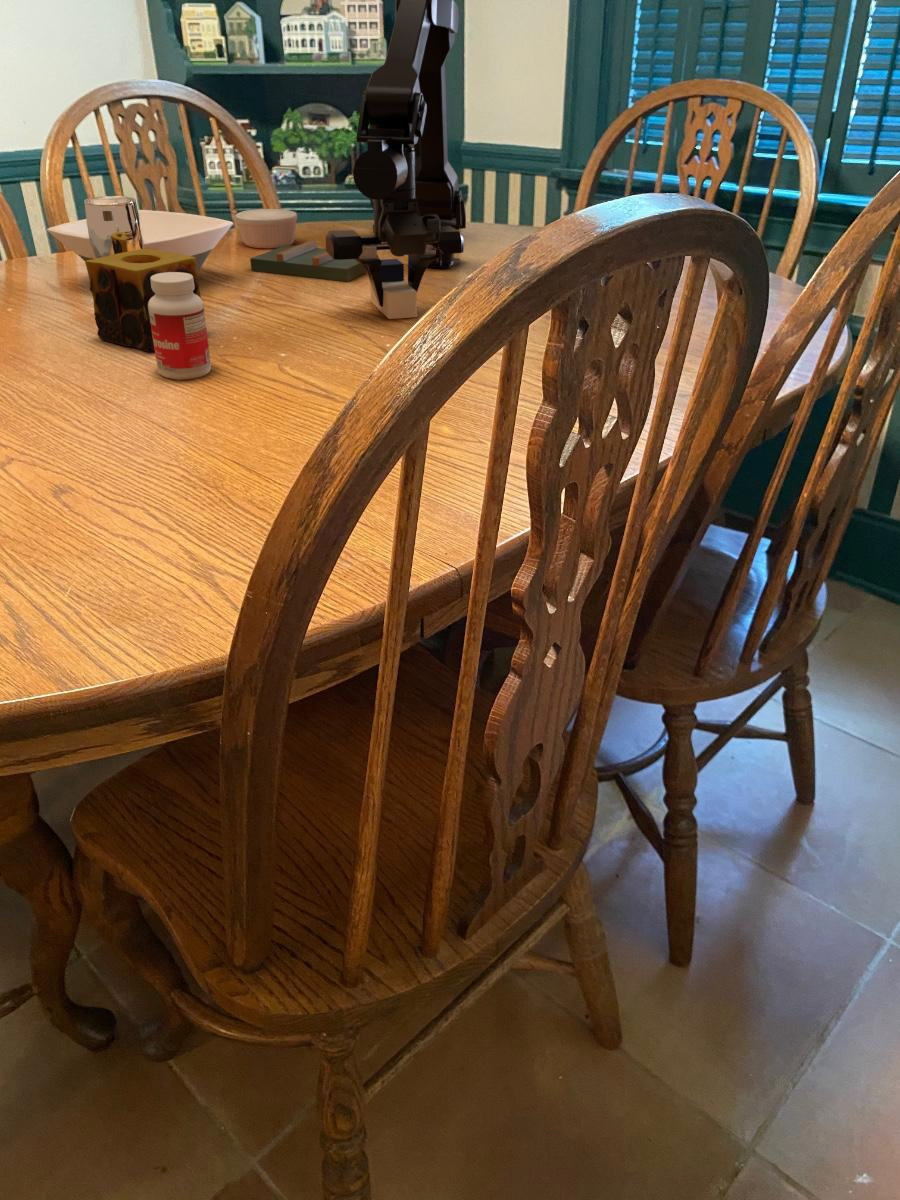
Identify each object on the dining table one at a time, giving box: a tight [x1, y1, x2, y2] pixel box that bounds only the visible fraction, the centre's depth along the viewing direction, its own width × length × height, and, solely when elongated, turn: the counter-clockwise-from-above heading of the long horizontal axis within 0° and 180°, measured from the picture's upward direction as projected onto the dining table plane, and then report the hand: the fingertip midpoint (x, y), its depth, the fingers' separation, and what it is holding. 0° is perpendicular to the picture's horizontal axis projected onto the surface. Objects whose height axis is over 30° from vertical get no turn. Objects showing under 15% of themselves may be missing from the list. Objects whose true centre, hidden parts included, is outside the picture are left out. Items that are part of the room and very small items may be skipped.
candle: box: [84, 249, 202, 353], centre depth 117 cm, size 10×10×10 cm
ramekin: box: [234, 208, 298, 249], centre depth 169 cm, size 11×11×5 cm
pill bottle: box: [148, 272, 212, 381], centre depth 105 cm, size 6×6×11 cm
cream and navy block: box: [369, 258, 418, 320], centre depth 131 cm, size 10×4×6 cm, turn 19°
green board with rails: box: [249, 239, 379, 283], centre depth 153 cm, size 12×18×3 cm, turn 69°
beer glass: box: [83, 195, 144, 259], centre depth 125 cm, size 7×7×15 cm
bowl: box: [46, 209, 234, 274], centre depth 142 cm, size 22×23×8 cm
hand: (395, 304), depth 131 cm, fingers closed on cream and navy block, 4 cm apart
